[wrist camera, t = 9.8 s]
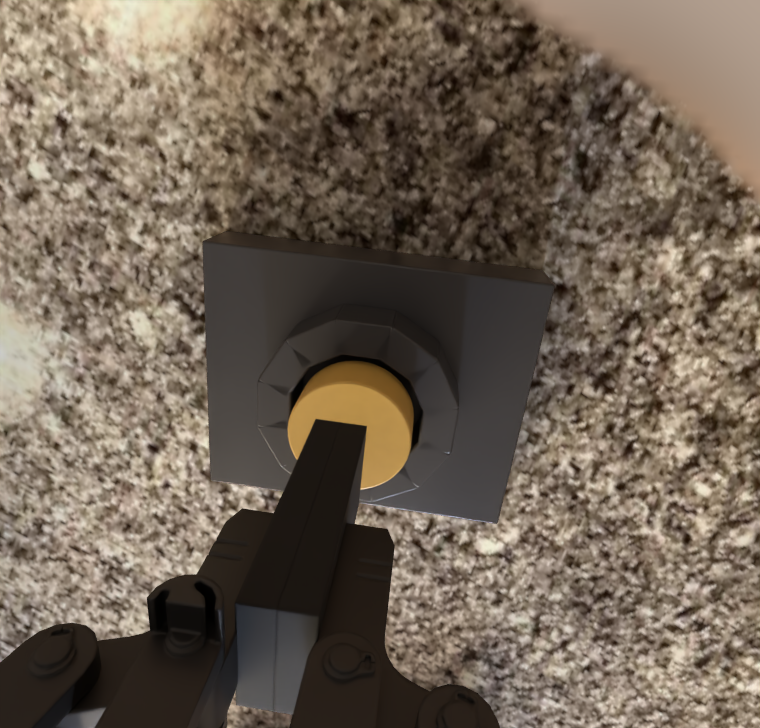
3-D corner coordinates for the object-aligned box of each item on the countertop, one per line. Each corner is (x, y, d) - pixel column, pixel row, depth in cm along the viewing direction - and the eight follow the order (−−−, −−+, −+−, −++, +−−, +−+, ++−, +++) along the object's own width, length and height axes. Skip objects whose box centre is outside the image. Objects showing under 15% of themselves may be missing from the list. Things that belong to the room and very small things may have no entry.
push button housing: (543, 269, 19) (567, 300, 16) (492, 491, 23) (502, 557, 20) (225, 230, 20) (177, 250, 16) (229, 452, 24) (190, 508, 20)
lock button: (421, 368, 17) (419, 391, 16) (406, 468, 19) (403, 499, 17) (302, 352, 18) (288, 373, 16) (298, 452, 19) (285, 481, 18)
